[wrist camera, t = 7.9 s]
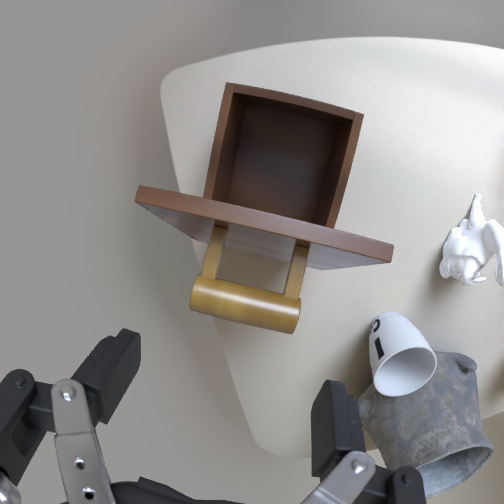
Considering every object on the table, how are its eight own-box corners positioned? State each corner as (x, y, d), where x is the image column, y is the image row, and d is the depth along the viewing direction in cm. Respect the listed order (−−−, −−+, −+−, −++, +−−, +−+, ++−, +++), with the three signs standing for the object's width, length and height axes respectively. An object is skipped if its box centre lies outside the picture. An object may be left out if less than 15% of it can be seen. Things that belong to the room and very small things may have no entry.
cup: (363, 303, 39) (380, 349, 30) (417, 300, 38) (444, 342, 29) (357, 350, 42) (368, 399, 33) (407, 346, 41) (427, 391, 32)
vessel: (364, 326, 41) (398, 443, 22) (482, 330, 39) (539, 414, 20) (329, 421, 49) (335, 518, 30) (433, 418, 47) (458, 498, 28)
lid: (138, 184, 13) (111, 294, 13) (394, 245, 13) (369, 356, 12) (197, 231, 27) (183, 286, 27) (324, 261, 27) (311, 316, 27)
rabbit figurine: (477, 190, 32) (520, 208, 23) (503, 225, 33) (544, 249, 24) (424, 259, 36) (456, 294, 27) (454, 288, 37) (486, 325, 28)
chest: (242, 96, 32) (225, 82, 23) (343, 119, 32) (364, 114, 22) (220, 208, 37) (197, 233, 28) (315, 231, 37) (323, 263, 28)
